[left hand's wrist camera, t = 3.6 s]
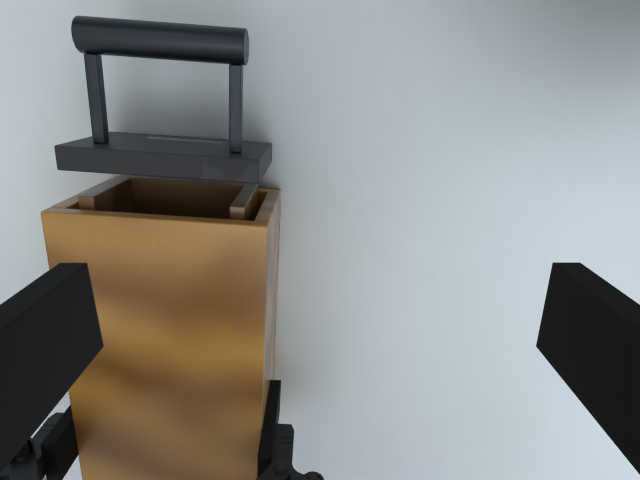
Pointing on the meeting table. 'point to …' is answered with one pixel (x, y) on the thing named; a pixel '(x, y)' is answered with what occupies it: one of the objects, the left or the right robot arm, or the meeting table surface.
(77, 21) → the drawer
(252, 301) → the cabinet
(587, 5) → the meeting table surface
